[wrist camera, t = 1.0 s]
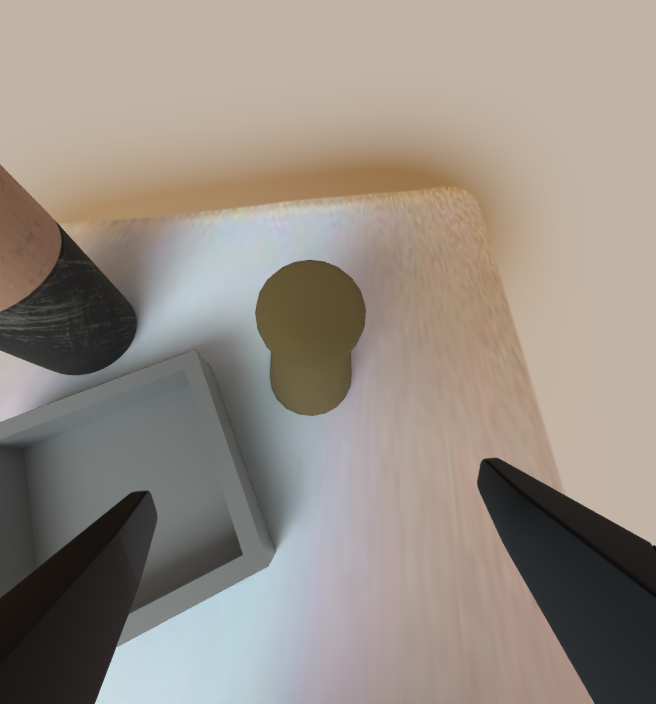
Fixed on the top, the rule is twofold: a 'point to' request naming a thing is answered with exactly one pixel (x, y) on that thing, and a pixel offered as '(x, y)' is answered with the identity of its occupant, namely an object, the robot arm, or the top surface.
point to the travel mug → (54, 293)
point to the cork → (310, 334)
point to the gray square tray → (136, 484)
